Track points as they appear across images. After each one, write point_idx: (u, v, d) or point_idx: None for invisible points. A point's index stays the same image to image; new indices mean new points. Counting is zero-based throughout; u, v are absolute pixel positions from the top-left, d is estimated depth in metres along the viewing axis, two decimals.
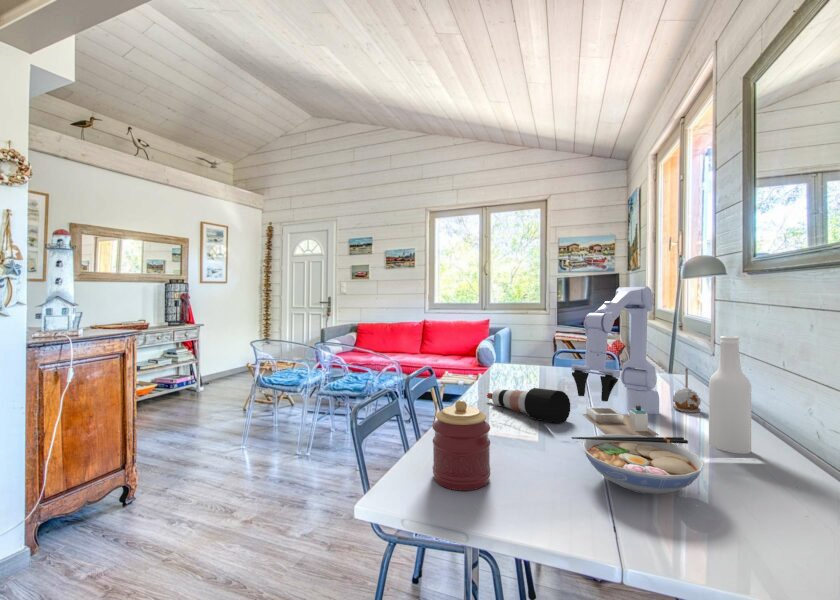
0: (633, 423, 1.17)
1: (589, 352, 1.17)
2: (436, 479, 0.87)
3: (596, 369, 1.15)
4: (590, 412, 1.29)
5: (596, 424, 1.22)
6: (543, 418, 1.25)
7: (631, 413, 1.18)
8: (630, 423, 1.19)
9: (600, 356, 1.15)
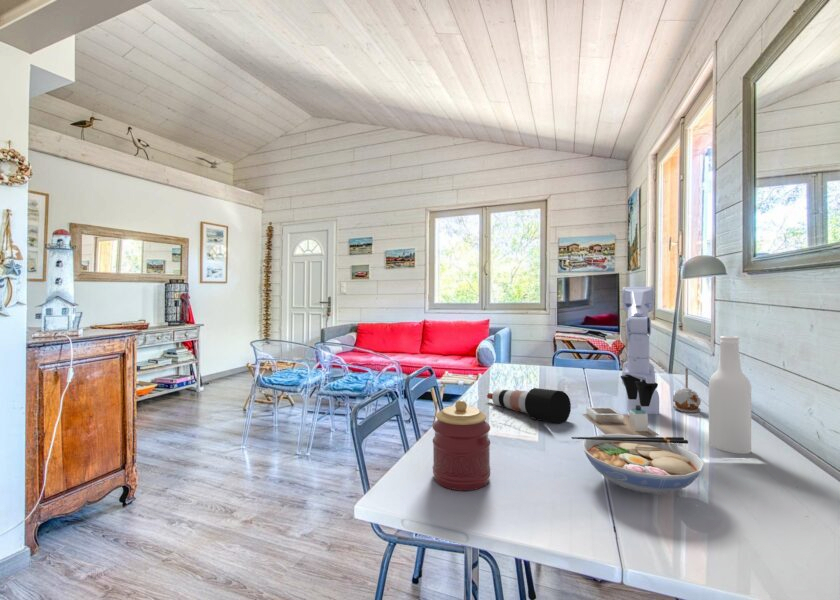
0: (633, 423, 1.17)
1: (628, 357, 1.18)
2: (436, 479, 0.87)
3: (633, 374, 1.16)
4: (590, 412, 1.29)
5: (596, 424, 1.22)
6: (543, 418, 1.25)
7: (631, 413, 1.18)
8: (630, 423, 1.19)
9: (637, 361, 1.15)
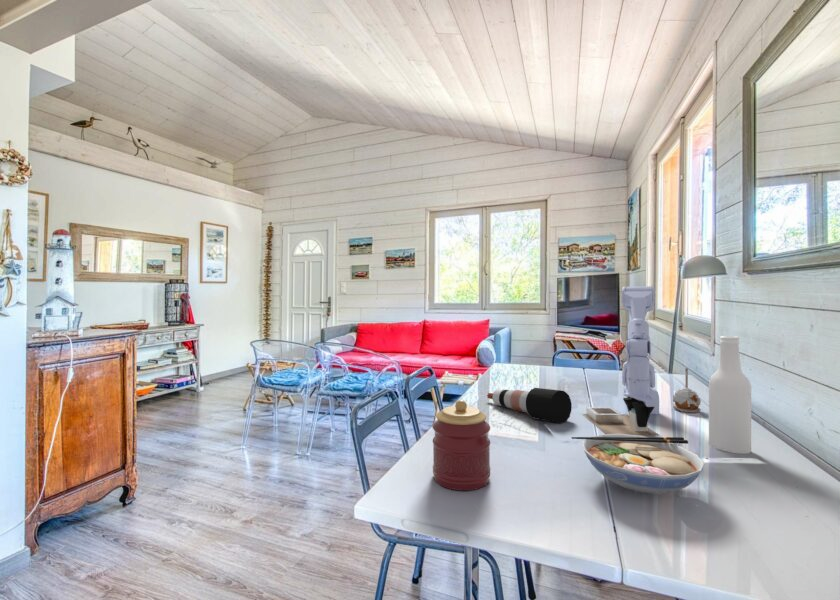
0: (633, 423, 1.17)
1: (628, 379, 1.18)
2: (436, 479, 0.87)
3: (633, 396, 1.16)
4: (590, 412, 1.29)
5: (596, 424, 1.22)
6: (545, 418, 1.25)
7: (631, 413, 1.18)
8: (630, 423, 1.19)
9: (637, 384, 1.15)
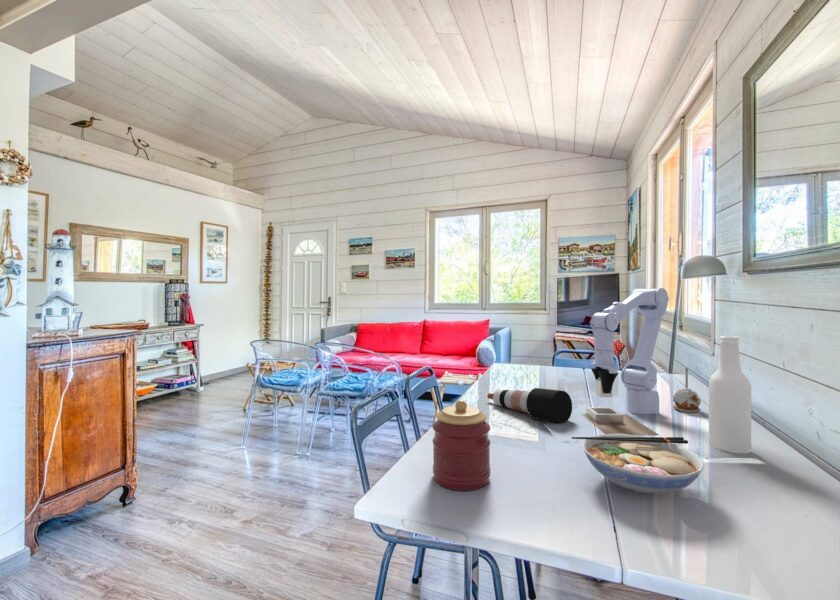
0: (599, 390, 1.28)
1: (594, 350, 1.28)
2: (436, 479, 0.87)
3: (598, 365, 1.26)
4: (590, 412, 1.29)
5: (596, 424, 1.22)
6: (545, 418, 1.26)
7: (597, 381, 1.29)
8: (596, 391, 1.29)
9: (602, 353, 1.26)
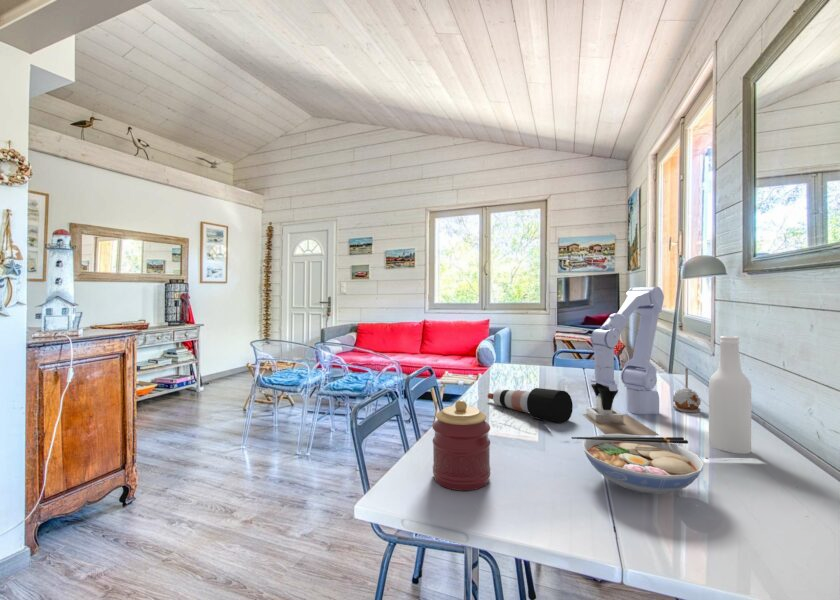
0: (599, 406, 1.28)
1: None
2: (436, 479, 0.87)
3: (598, 382, 1.26)
4: (590, 412, 1.29)
5: (596, 424, 1.22)
6: (546, 418, 1.26)
7: (597, 398, 1.29)
8: (596, 407, 1.30)
9: (602, 370, 1.26)
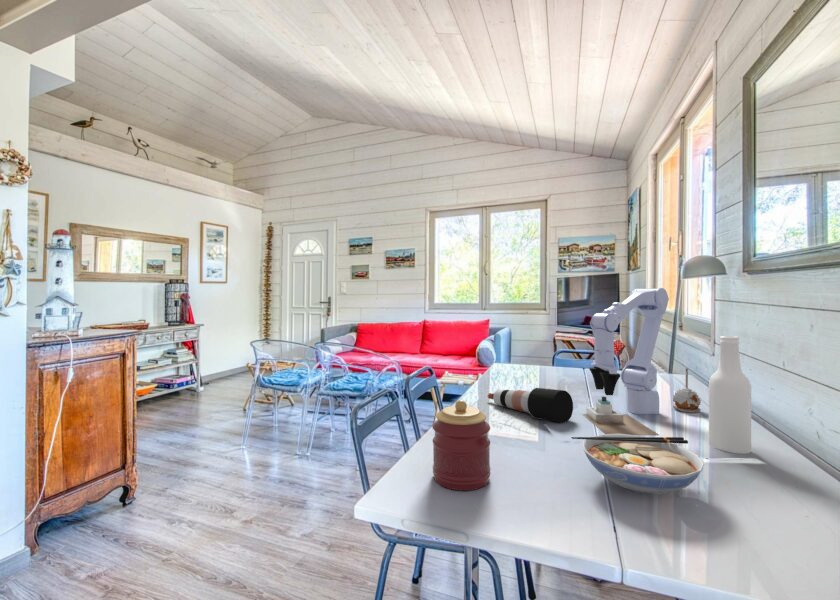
0: (598, 412, 1.28)
1: (594, 350, 1.28)
2: (436, 479, 0.87)
3: (598, 366, 1.26)
4: (590, 412, 1.29)
5: (596, 424, 1.22)
6: (546, 418, 1.26)
7: (597, 404, 1.29)
8: None
9: (602, 354, 1.26)
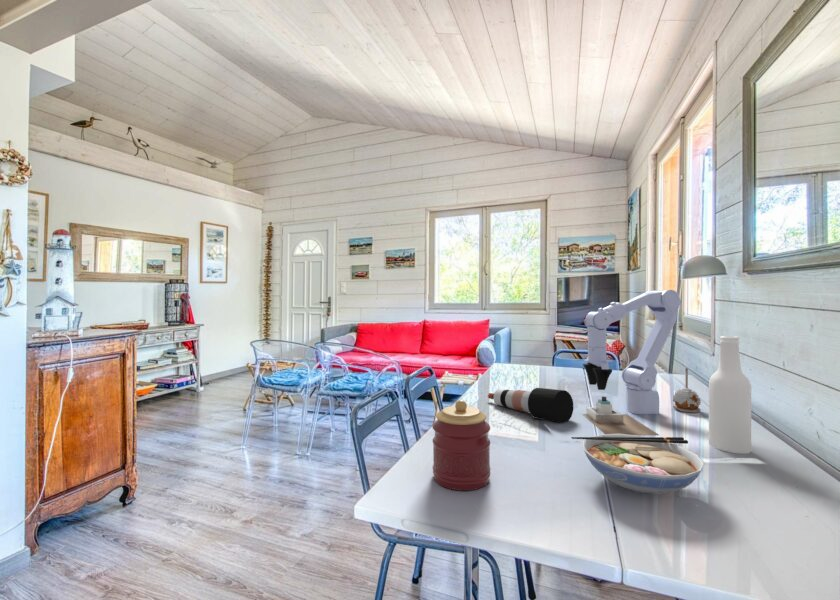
0: (598, 412, 1.28)
1: (588, 347, 1.34)
2: (436, 479, 0.87)
3: (591, 362, 1.32)
4: (590, 412, 1.29)
5: (596, 424, 1.22)
6: (547, 418, 1.26)
7: (597, 404, 1.29)
8: None
9: (595, 350, 1.32)
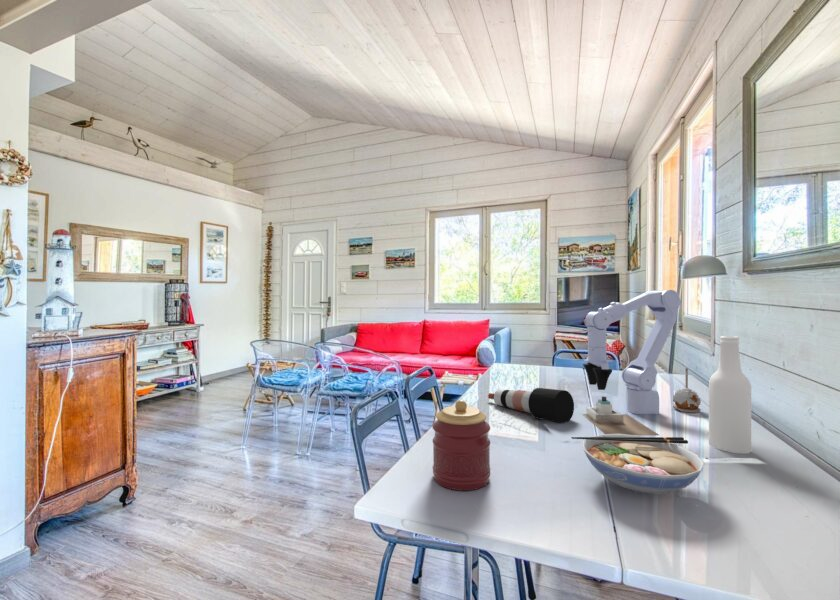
0: (598, 412, 1.28)
1: (588, 347, 1.34)
2: (436, 479, 0.87)
3: (591, 362, 1.32)
4: (590, 412, 1.29)
5: (596, 424, 1.22)
6: (548, 418, 1.26)
7: (597, 404, 1.29)
8: None
9: (595, 350, 1.32)
